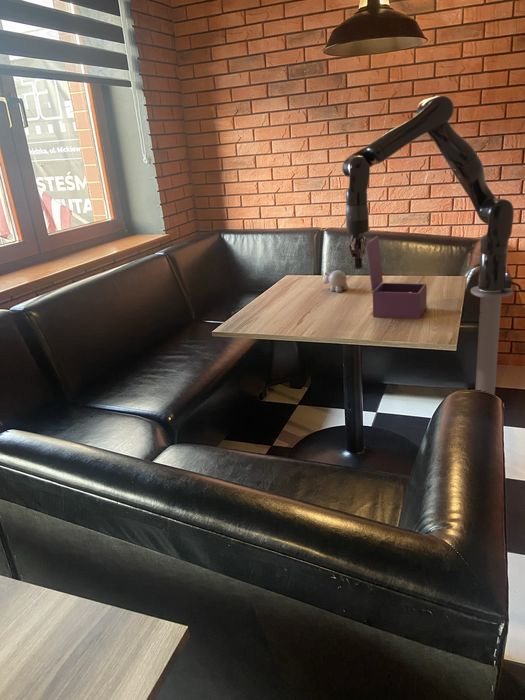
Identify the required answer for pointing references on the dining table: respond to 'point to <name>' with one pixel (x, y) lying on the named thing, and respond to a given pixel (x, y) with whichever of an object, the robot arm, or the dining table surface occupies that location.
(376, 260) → the lid
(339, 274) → the chubby cartoon animal
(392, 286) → the box
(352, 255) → the robot arm
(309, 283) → the dining table surface
